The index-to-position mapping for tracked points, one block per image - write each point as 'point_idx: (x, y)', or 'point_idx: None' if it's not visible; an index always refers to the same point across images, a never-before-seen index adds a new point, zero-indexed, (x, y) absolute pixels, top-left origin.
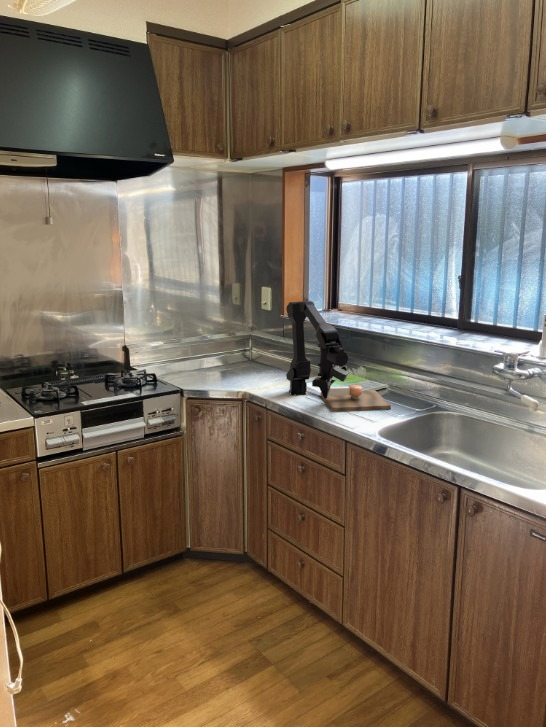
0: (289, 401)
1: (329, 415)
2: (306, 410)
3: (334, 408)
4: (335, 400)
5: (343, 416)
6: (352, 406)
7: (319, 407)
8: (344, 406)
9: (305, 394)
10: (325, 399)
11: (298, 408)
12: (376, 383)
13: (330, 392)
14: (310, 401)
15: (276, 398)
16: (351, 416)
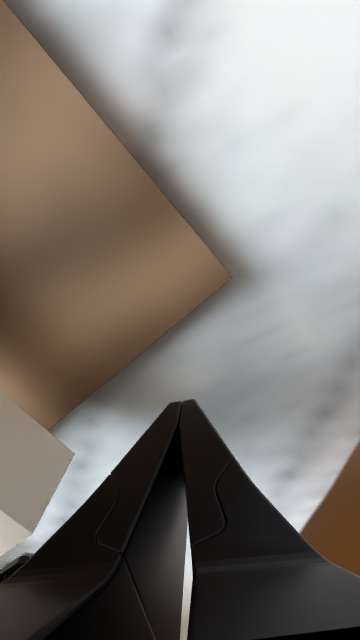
0: (189, 576)
1: (324, 251)
2: (294, 445)
3: (217, 259)
4: (22, 347)
5: (289, 112)
6: (55, 96)
7: (182, 401)
8: (116, 185)
9: (27, 559)
10: (48, 427)
11: (282, 497)
12: None
13: (3, 441)
14: None
15: (185, 633)
16: (247, 25)
